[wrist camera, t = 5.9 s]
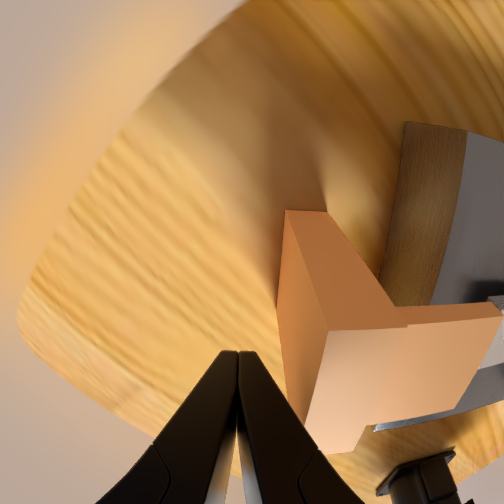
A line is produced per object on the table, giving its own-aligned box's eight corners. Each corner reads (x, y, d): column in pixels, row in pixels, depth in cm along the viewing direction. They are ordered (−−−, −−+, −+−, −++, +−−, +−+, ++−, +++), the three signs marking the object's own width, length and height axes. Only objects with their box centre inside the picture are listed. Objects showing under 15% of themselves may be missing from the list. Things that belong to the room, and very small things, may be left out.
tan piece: (388, 309, 14) (455, 429, 7) (275, 310, 14) (294, 456, 7) (410, 218, 12) (522, 315, 6) (285, 209, 12) (328, 330, 5)
